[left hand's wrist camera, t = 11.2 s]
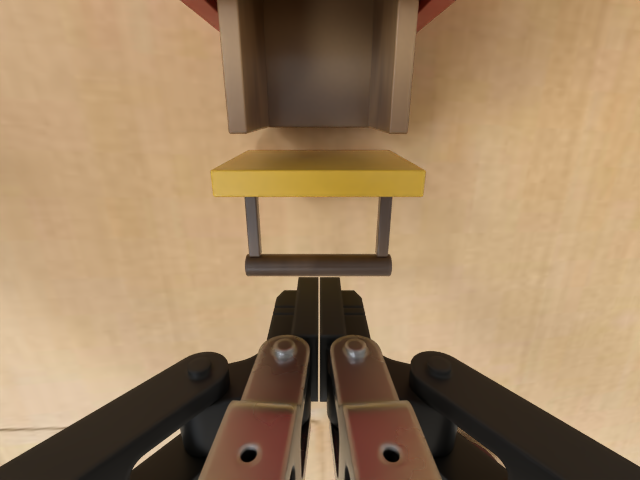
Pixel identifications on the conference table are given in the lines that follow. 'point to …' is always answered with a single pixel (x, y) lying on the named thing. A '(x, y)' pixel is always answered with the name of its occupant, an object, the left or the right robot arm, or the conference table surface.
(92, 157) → the conference table surface
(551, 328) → the conference table surface
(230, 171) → the drawer
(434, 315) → the conference table surface
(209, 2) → the cabinet
